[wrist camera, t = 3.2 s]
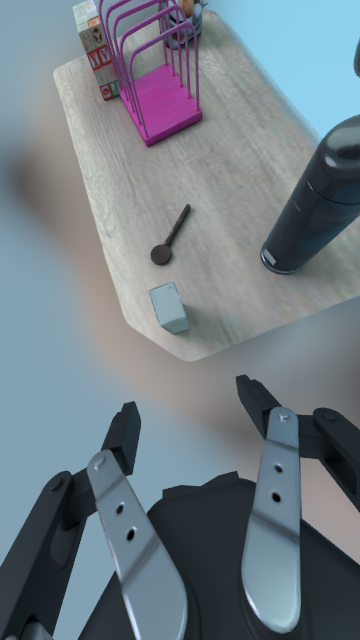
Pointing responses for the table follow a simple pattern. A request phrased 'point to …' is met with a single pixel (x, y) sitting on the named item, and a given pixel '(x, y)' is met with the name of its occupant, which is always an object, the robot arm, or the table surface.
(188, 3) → the lucky cat figurine
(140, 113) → the file sorter
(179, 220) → the spoon
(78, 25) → the stack of blocks
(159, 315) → the cosmetic box
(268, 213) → the table surface
